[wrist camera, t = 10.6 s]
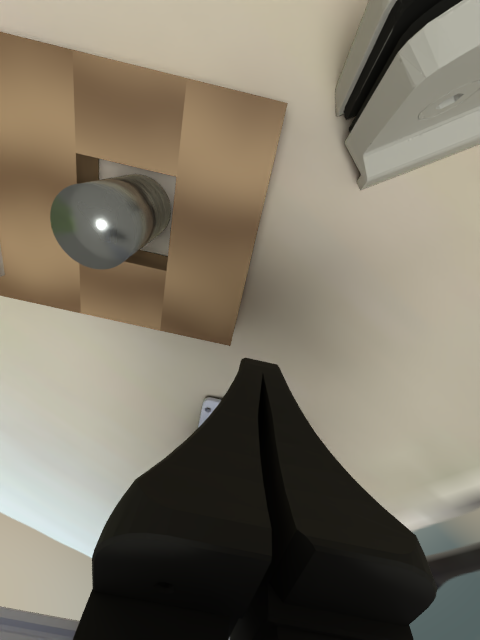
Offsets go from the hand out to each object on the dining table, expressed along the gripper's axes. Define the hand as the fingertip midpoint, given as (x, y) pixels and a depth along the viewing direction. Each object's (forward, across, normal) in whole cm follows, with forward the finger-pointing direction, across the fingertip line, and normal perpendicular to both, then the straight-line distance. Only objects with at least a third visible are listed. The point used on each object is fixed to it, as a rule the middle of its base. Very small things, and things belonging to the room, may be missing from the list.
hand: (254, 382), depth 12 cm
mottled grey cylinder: (+10, +8, -3) cm, 13 cm away
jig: (+10, +10, -3) cm, 14 cm away
